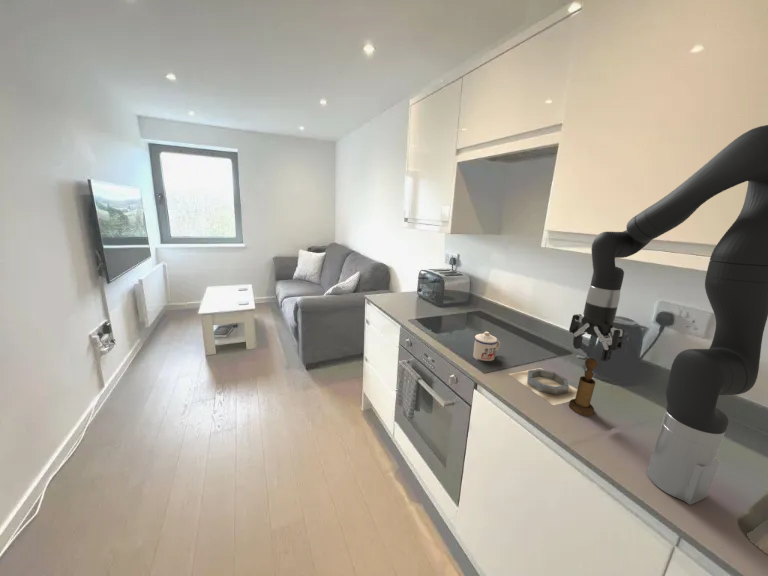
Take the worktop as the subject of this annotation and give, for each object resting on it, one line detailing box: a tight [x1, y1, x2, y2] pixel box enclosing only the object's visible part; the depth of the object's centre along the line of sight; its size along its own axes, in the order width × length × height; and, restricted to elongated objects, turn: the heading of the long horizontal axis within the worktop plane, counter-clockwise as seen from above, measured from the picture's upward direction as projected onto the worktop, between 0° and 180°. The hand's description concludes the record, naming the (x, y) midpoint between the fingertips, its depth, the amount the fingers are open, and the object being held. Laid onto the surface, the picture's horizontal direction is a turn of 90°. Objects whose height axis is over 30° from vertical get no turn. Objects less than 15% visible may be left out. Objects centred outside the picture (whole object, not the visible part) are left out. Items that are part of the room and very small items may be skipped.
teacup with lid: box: [472, 331, 501, 362], centre depth 127 cm, size 12×9×12 cm
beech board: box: [508, 367, 578, 406], centre depth 108 cm, size 20×16×1 cm
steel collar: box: [527, 368, 569, 396], centre depth 108 cm, size 12×12×2 cm
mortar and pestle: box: [568, 357, 598, 417], centre depth 93 cm, size 7×6×18 cm
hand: (589, 354), depth 91 cm, fingers open, 8 cm apart
